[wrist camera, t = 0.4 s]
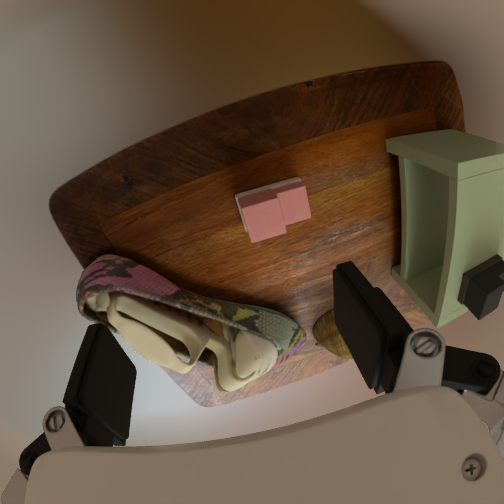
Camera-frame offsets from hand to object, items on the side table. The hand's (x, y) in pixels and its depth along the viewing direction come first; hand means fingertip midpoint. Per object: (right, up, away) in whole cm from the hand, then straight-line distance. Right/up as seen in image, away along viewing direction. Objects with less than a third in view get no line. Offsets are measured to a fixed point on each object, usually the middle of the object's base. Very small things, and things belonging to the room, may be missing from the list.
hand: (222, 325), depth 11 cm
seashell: (+14, -8, +31) cm, 35 cm away
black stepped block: (+28, 0, +15) cm, 31 cm away
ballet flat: (-5, -4, +25) cm, 26 cm away
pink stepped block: (+3, +8, +20) cm, 22 cm away
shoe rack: (+25, +9, +23) cm, 35 cm away
